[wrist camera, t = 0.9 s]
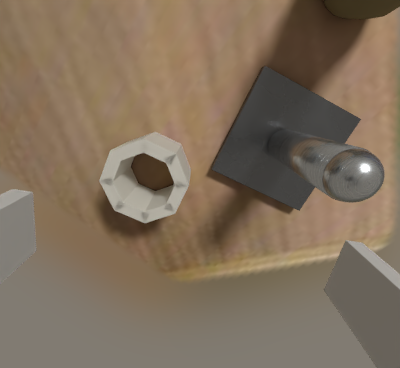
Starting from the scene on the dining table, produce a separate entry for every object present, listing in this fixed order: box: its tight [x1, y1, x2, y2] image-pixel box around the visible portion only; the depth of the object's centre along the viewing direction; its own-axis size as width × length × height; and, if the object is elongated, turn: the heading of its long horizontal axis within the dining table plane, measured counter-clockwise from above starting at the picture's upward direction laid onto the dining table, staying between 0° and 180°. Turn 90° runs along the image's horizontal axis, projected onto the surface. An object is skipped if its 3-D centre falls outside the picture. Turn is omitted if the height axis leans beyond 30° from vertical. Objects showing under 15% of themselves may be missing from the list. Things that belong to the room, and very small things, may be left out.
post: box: [211, 66, 384, 210], centre depth 20 cm, size 12×12×15 cm
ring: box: [99, 132, 191, 223], centre depth 25 cm, size 8×8×6 cm
